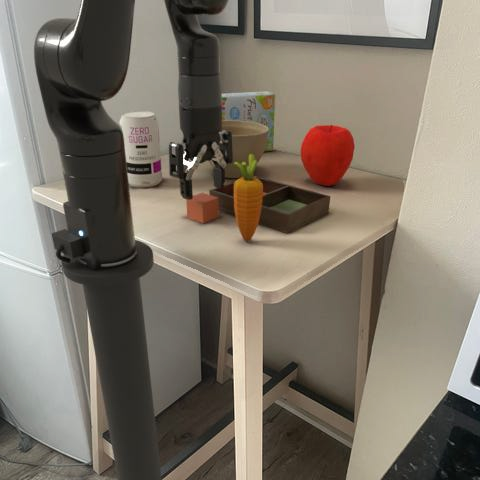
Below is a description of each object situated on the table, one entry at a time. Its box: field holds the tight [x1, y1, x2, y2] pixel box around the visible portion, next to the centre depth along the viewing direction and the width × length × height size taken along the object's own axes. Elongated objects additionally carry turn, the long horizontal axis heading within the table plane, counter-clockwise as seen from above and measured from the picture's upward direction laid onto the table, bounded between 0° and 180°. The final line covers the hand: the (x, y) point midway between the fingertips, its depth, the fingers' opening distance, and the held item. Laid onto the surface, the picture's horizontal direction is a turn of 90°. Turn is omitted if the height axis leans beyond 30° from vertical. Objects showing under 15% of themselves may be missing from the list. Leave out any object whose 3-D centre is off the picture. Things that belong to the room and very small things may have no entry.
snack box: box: [222, 90, 276, 152], centre depth 135 cm, size 21×6×15 cm, turn 111°
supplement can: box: [118, 110, 163, 189], centre depth 111 cm, size 8×8×15 cm
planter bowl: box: [208, 120, 269, 179], centre depth 119 cm, size 16×16×11 cm
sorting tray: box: [208, 174, 331, 234], centre depth 101 cm, size 14×20×4 cm
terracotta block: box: [185, 192, 220, 224], centre depth 97 cm, size 4×4×4 cm
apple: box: [299, 124, 355, 187], centre depth 112 cm, size 12×12×13 cm
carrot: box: [233, 154, 263, 243], centre depth 84 cm, size 5×5×15 cm
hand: (203, 192), depth 95 cm, fingers open, 8 cm apart
